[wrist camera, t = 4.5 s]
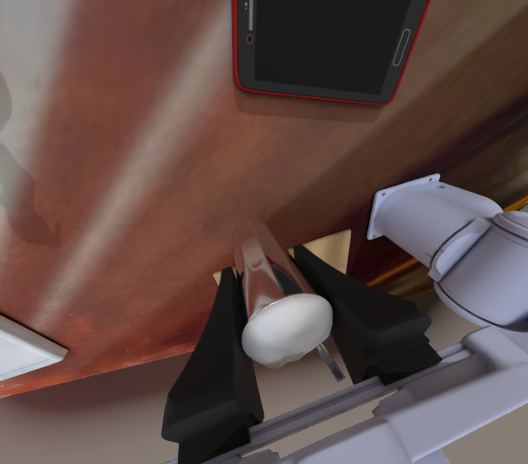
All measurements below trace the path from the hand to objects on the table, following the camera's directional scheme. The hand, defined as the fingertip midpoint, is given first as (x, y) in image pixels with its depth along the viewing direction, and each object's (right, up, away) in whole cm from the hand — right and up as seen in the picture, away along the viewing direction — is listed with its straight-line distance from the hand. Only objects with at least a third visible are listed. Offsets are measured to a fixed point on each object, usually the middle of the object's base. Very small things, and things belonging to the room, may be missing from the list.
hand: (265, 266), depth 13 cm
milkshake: (-1, +2, +3) cm, 4 cm away
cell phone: (+5, +17, +2) cm, 18 cm away
